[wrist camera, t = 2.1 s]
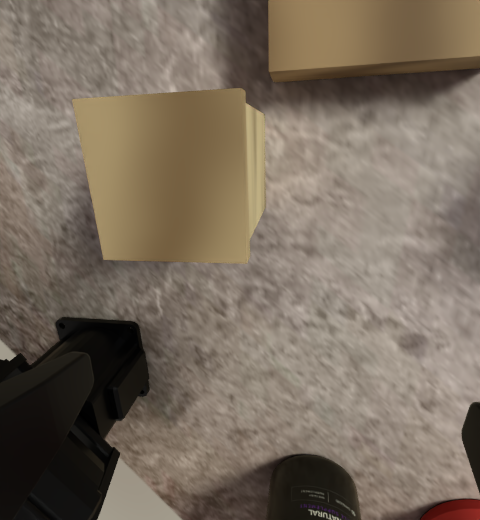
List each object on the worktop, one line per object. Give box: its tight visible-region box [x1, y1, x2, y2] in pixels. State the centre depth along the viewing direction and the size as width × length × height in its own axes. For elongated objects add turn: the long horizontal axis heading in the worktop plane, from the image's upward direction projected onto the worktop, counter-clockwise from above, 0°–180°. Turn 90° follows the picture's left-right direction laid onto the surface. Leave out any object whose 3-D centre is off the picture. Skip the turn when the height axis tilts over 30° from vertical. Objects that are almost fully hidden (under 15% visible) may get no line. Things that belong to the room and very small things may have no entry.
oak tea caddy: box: [72, 88, 266, 264], centre depth 15 cm, size 5×5×9 cm
